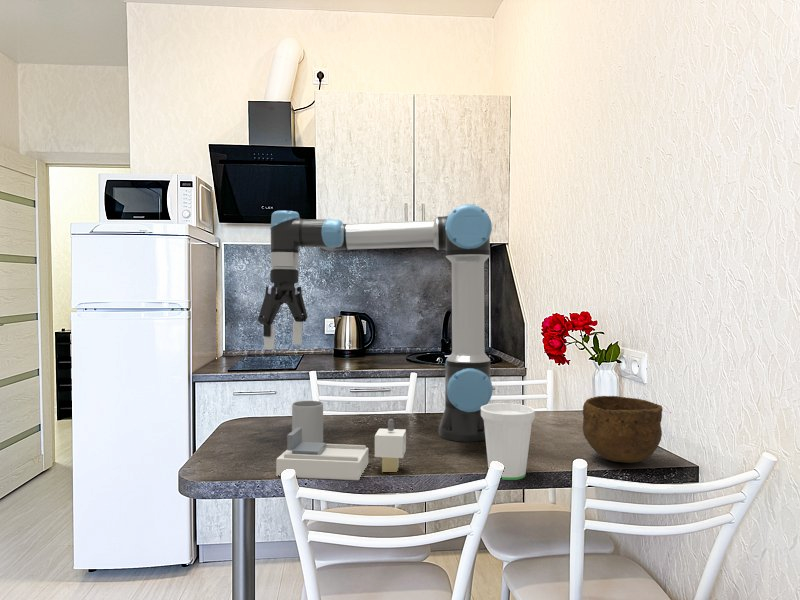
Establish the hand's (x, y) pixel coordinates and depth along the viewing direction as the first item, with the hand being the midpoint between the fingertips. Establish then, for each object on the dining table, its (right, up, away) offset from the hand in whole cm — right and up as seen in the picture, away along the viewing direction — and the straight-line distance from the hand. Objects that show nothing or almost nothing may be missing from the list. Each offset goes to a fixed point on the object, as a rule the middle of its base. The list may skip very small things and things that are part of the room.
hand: (283, 347), depth 158 cm
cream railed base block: (+14, -27, -21) cm, 37 cm away
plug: (+29, -27, -21) cm, 45 cm away
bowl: (+87, -28, -13) cm, 92 cm away
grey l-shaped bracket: (+10, -23, -21) cm, 33 cm away
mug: (+6, -27, +4) cm, 28 cm away
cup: (+56, -28, -24) cm, 67 cm away
